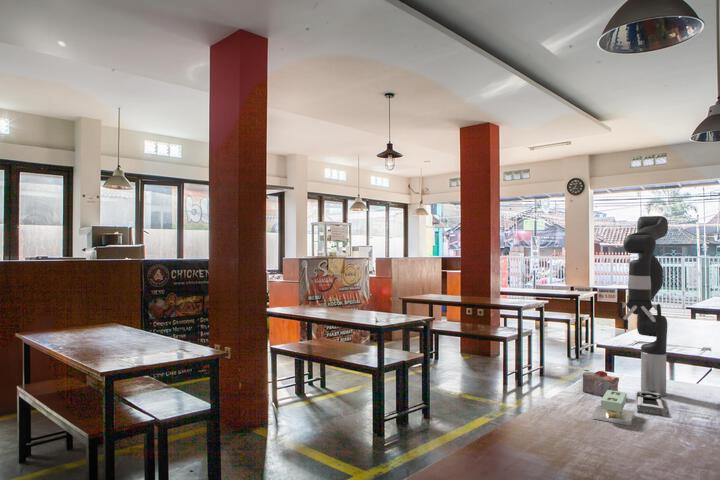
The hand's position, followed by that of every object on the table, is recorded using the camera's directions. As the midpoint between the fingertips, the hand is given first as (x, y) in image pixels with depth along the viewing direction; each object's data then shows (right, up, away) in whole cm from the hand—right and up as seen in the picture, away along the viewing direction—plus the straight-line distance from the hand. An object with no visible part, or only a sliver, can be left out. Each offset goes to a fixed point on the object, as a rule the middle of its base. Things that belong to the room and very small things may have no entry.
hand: (639, 330), depth 187 cm
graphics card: (+8, -31, +6) cm, 33 cm away
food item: (-5, -31, +20) cm, 37 cm away
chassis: (-14, -30, -8) cm, 34 cm away
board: (-14, -25, -8) cm, 30 cm away
